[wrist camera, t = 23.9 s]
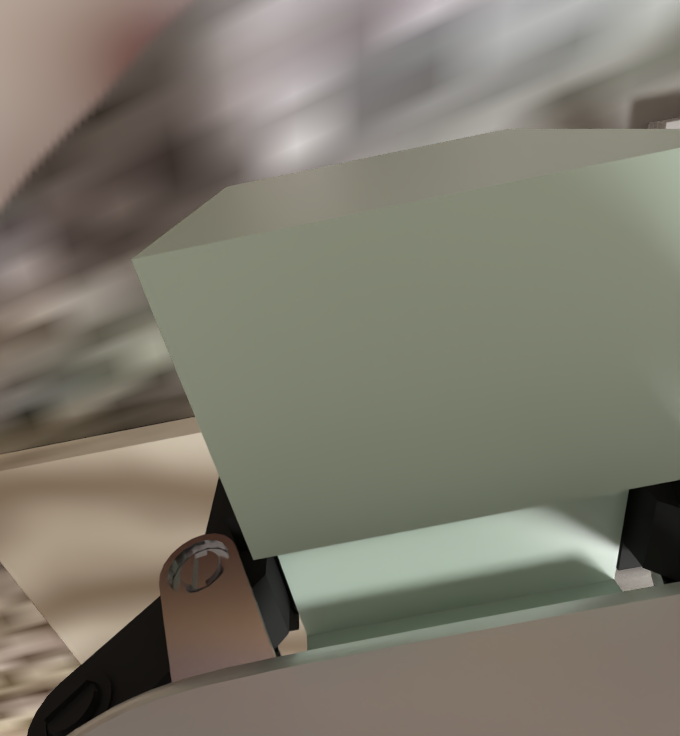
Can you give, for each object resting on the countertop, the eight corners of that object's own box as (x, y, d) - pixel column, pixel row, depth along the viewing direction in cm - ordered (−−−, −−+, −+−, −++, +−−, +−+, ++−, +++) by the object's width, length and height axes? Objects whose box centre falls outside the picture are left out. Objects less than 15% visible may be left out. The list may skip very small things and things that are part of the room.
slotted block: (509, 529, 15) (621, 746, 10) (332, 562, 15) (348, 794, 10) (507, 128, 9) (772, 129, 4) (226, 187, 10) (130, 258, 4)
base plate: (320, 647, 31) (320, 670, 30) (123, 683, 31) (115, 707, 30) (237, 408, 22) (233, 426, 21) (-40, 462, 22) (-62, 483, 21)
